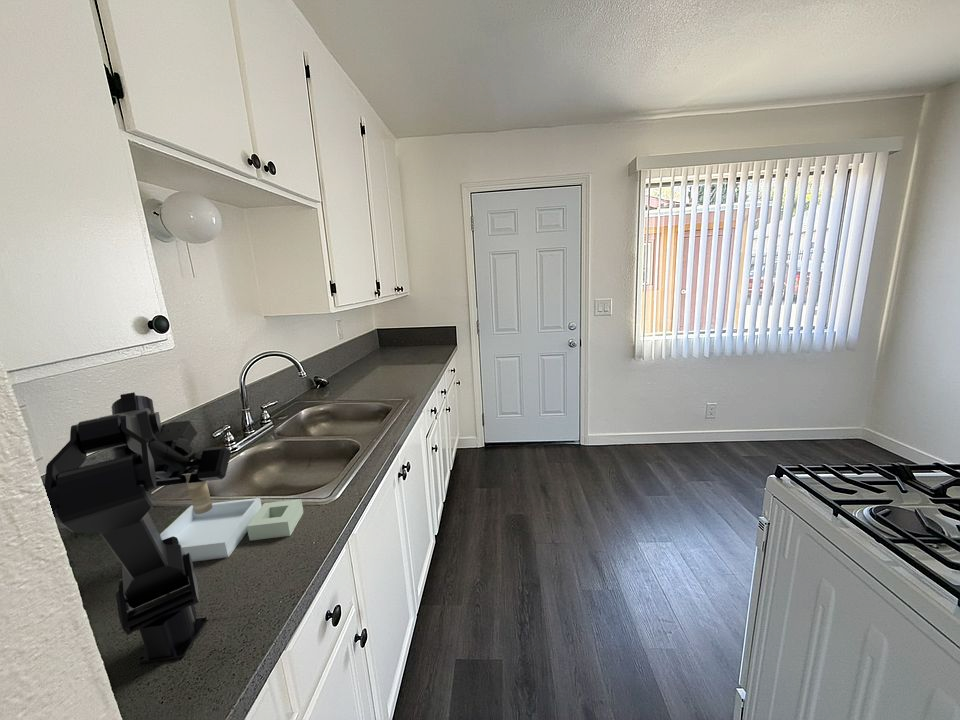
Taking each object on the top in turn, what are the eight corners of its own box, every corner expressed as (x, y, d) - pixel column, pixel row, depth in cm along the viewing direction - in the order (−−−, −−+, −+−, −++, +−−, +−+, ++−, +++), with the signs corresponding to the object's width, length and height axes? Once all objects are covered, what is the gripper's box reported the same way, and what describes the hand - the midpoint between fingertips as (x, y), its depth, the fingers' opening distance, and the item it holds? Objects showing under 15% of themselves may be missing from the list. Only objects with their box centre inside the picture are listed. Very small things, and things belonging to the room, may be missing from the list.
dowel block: (290, 535, 82) (287, 521, 82) (249, 540, 82) (246, 526, 81) (303, 512, 91) (301, 499, 90) (266, 516, 90) (263, 503, 89)
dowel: (207, 513, 81) (194, 461, 78) (191, 515, 81) (177, 463, 78) (215, 504, 84) (203, 454, 81) (200, 506, 84) (187, 456, 81)
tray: (228, 557, 77) (224, 542, 76) (145, 567, 76) (141, 552, 75) (262, 510, 92) (260, 497, 91) (194, 518, 91) (190, 505, 90)
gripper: (215, 409, 74) (253, 438, 87) (112, 419, 72) (166, 447, 86) (200, 466, 68) (243, 488, 81) (87, 478, 67) (149, 498, 80)
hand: (200, 478), depth 82 cm, fingers closed on dowel, 3 cm apart
